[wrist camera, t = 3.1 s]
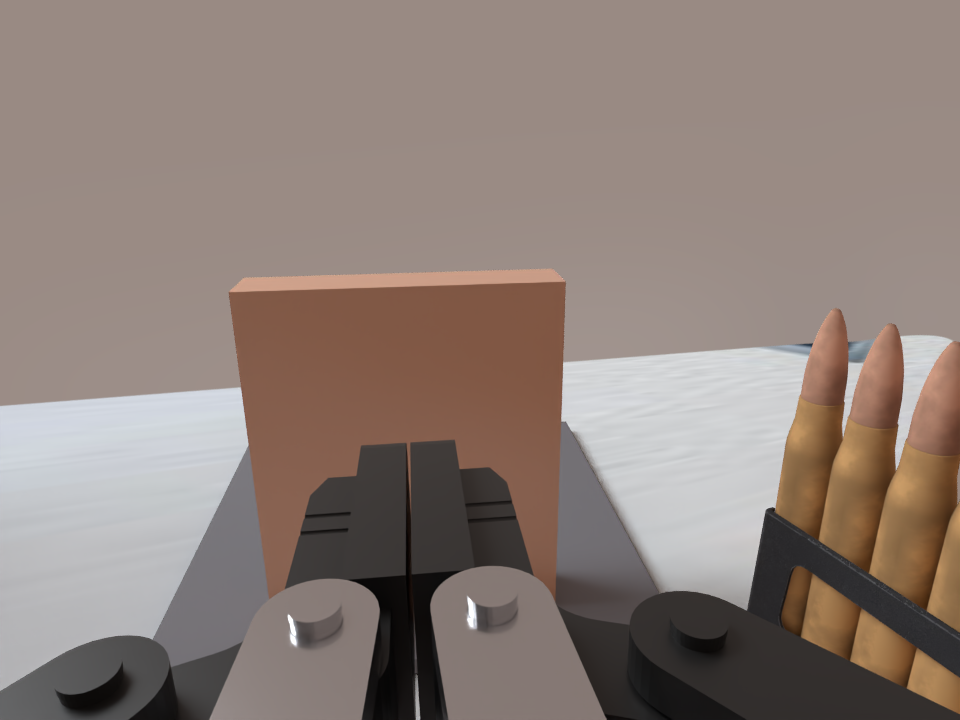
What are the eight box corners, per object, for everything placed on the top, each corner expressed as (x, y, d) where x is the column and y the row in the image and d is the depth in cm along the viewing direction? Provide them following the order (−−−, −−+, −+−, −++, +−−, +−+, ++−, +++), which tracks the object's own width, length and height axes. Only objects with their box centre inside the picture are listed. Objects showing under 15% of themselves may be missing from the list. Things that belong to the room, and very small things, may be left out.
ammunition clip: (1136, 904, 16) (1345, 431, 12) (1087, 939, 15) (1291, 450, 11) (781, 615, 25) (833, 298, 21) (742, 629, 24) (787, 304, 21)
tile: (272, 628, 24) (228, 292, 20) (283, 589, 26) (245, 276, 22) (554, 607, 25) (565, 281, 21) (543, 570, 27) (551, 267, 23)
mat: (135, 697, 22) (131, 682, 21) (253, 447, 39) (252, 437, 38) (681, 651, 23) (682, 636, 23) (565, 430, 40) (565, 421, 40)
